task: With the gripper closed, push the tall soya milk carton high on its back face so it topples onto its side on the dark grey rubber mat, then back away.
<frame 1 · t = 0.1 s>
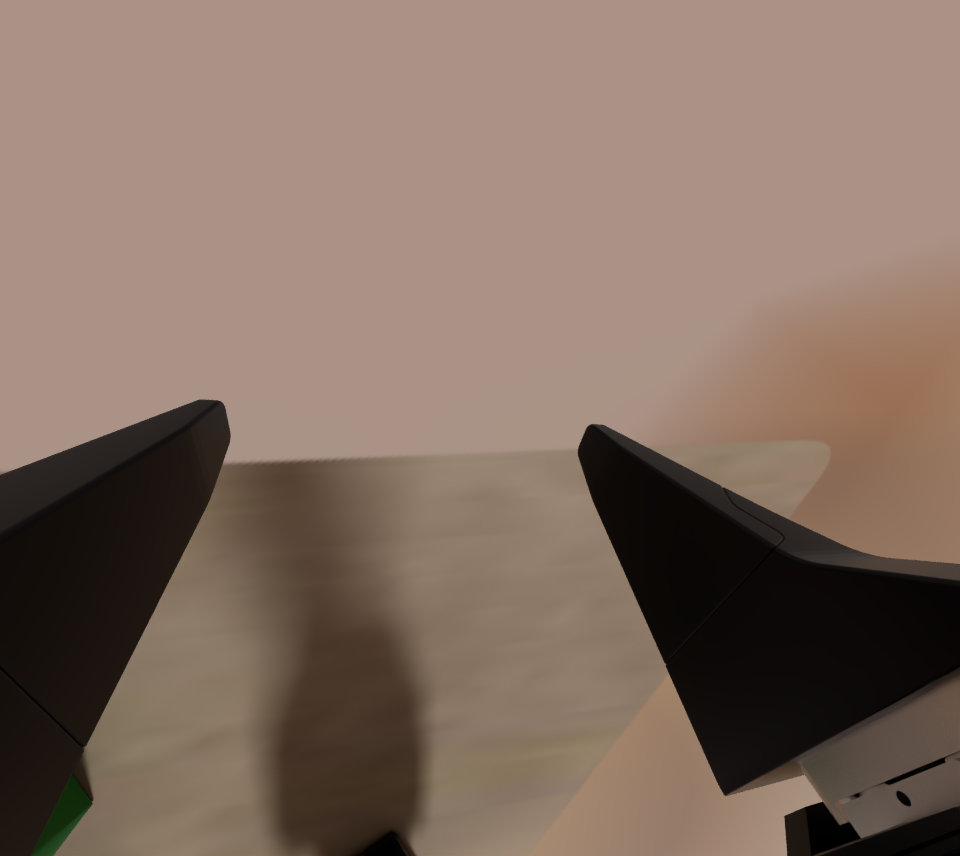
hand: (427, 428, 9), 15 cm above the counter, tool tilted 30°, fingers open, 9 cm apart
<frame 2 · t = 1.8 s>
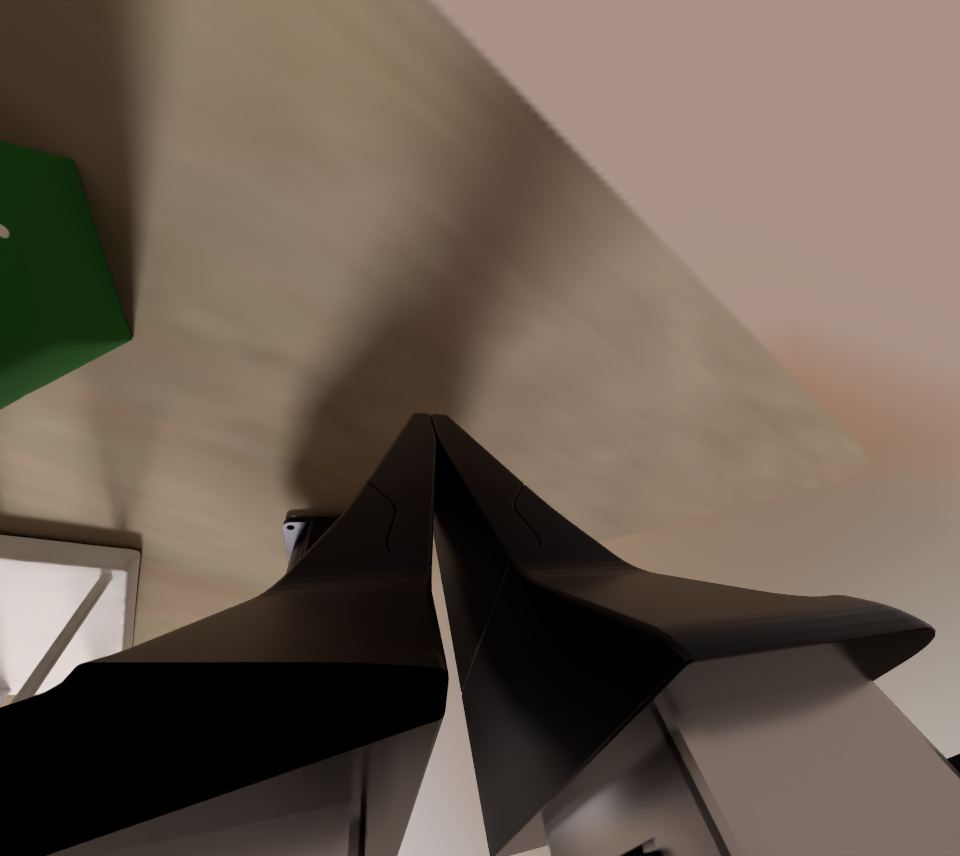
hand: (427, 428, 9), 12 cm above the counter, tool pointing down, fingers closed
soya milk: (6, 246, 15), on the counter
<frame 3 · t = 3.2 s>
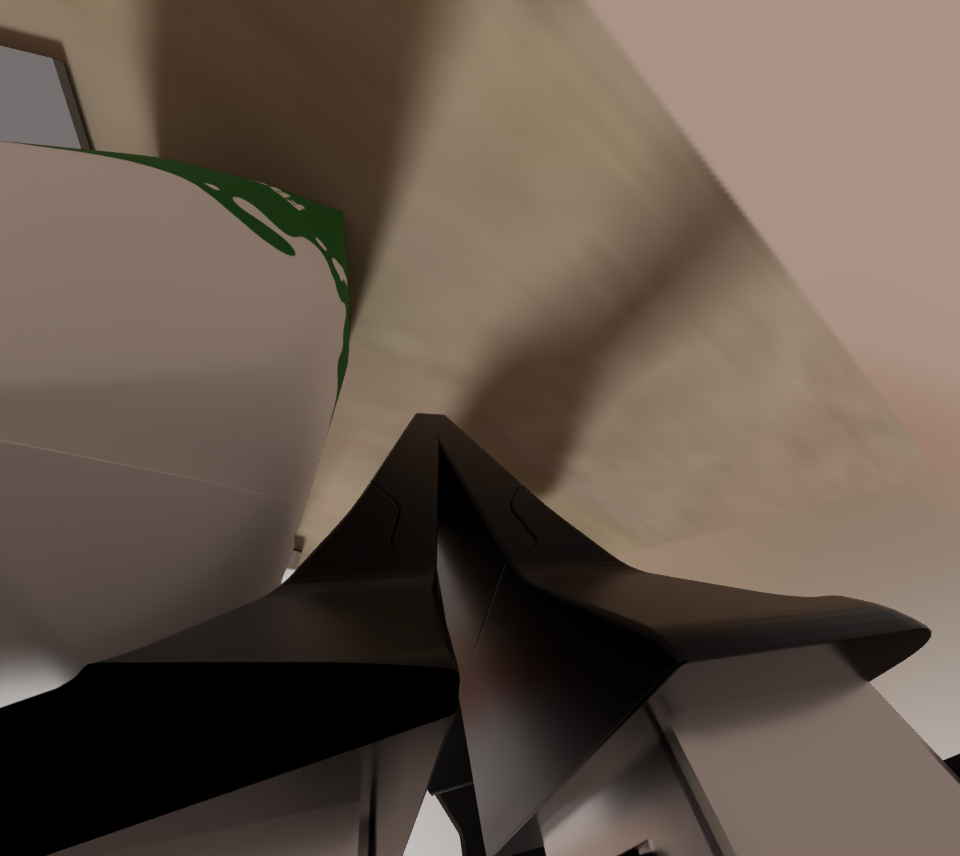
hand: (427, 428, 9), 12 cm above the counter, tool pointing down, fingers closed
soya milk: (267, 281, 18), on the counter, touching gripper
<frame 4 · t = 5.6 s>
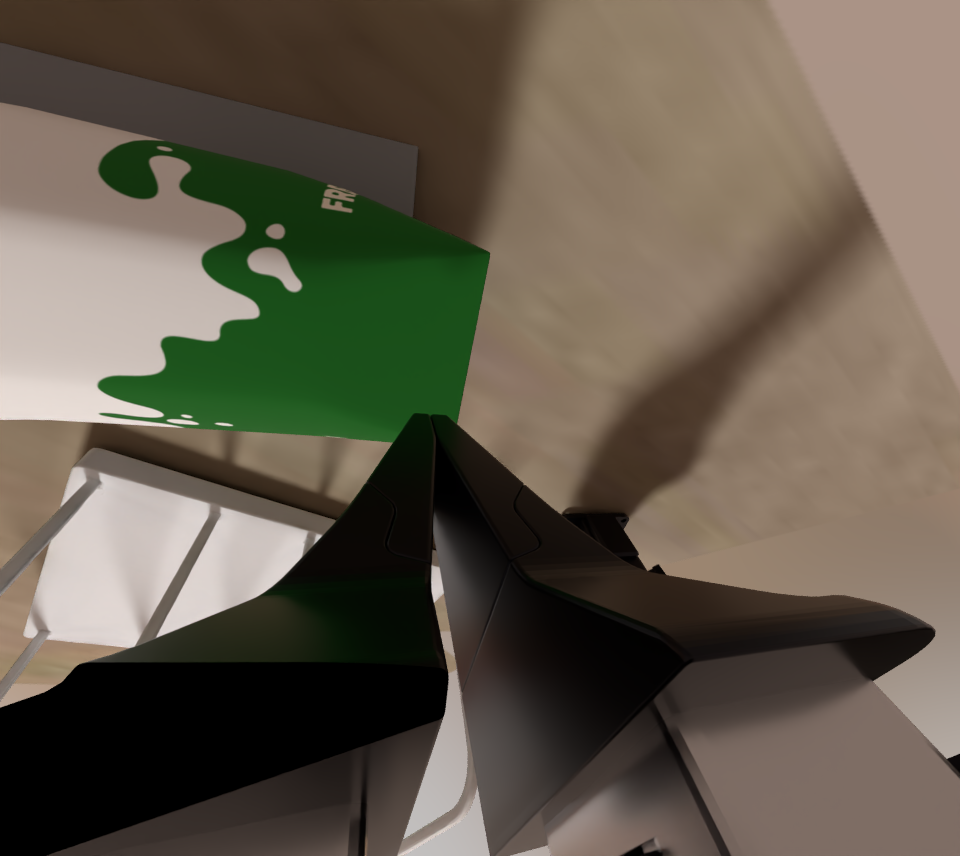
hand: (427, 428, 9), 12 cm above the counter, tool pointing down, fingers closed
soya milk: (459, 336, 16), point 5 cm above the counter, touching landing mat
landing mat: (153, 266, 16), on the counter
file sorter: (272, 577, 29), on the counter
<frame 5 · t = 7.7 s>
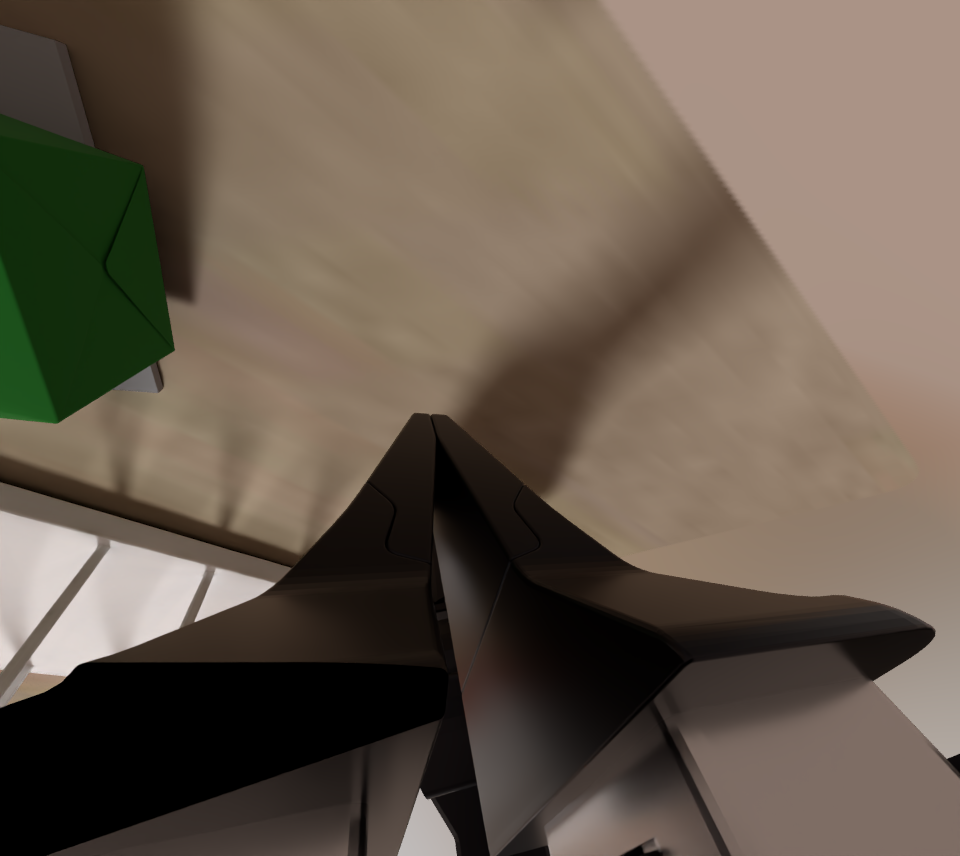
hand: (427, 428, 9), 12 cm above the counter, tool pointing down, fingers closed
soya milk: (115, 284, 12), point 5 cm above the counter, touching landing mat
file sorter: (83, 584, 26), on the counter
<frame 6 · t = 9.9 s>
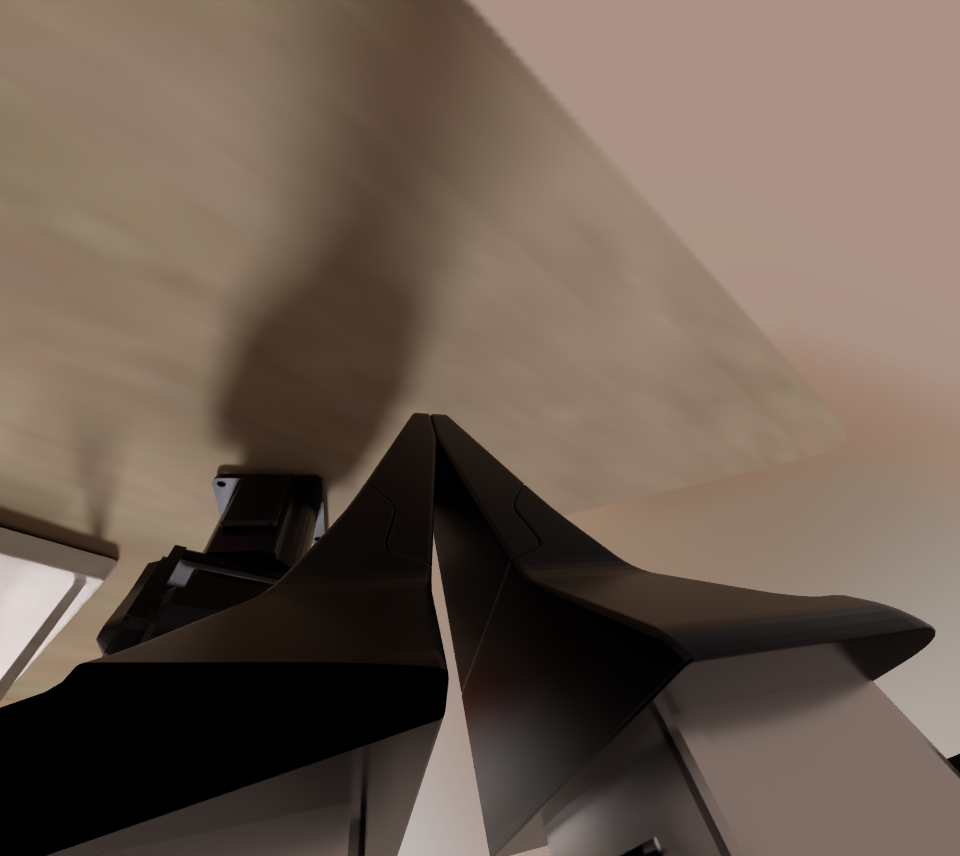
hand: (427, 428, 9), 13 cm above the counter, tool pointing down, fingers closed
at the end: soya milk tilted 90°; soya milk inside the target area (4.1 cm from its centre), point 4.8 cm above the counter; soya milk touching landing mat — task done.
